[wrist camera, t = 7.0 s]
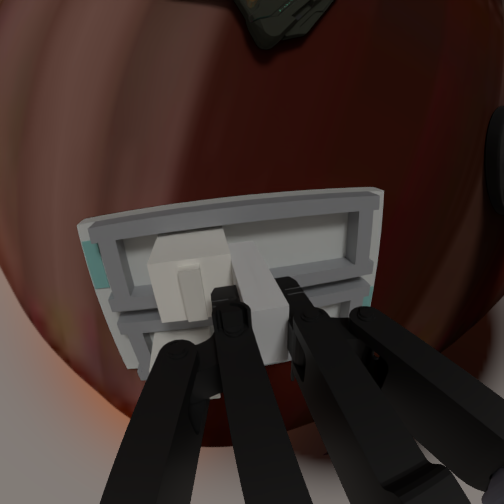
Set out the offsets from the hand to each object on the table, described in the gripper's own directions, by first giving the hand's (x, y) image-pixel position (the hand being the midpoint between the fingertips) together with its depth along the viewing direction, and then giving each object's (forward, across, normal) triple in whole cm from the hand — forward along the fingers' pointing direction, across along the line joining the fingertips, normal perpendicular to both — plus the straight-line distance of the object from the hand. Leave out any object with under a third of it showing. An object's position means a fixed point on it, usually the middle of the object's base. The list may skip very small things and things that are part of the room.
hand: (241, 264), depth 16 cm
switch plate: (+4, 0, +4) cm, 6 cm away
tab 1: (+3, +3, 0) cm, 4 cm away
